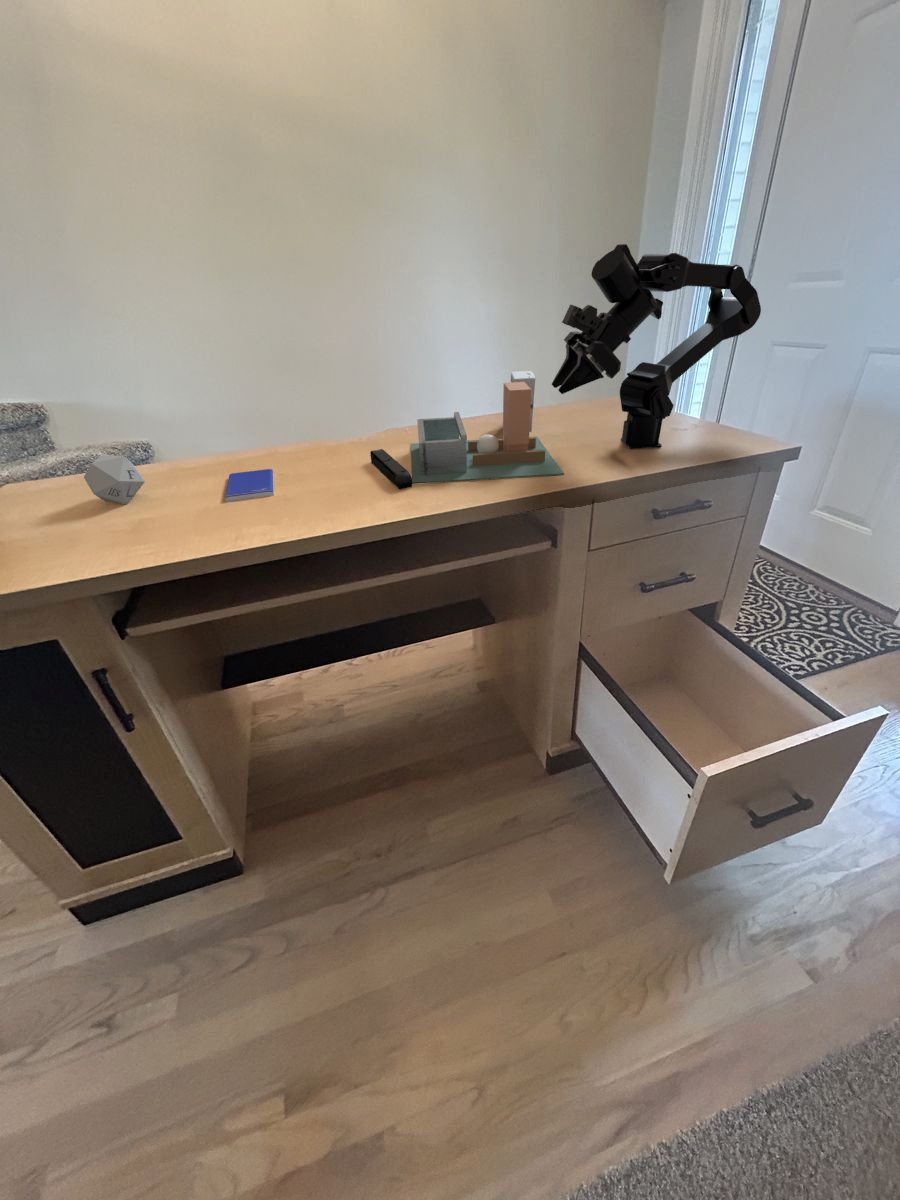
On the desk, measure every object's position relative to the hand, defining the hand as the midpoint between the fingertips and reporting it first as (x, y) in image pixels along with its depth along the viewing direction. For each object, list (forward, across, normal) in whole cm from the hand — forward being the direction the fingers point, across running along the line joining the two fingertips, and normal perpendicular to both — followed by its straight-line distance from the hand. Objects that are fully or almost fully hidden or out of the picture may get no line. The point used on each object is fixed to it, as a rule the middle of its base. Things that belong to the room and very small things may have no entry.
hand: (556, 389), depth 101 cm
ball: (+16, 0, -2) cm, 17 cm away
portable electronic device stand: (+32, +6, -14) cm, 36 cm away
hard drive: (+51, +8, -32) cm, 61 cm away
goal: (+25, 0, -7) cm, 26 cm away
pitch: (+19, 0, -2) cm, 19 cm away
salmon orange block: (+14, 0, +4) cm, 15 cm away
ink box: (+11, -21, +7) cm, 25 cm away
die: (+66, +11, -48) cm, 82 cm away
